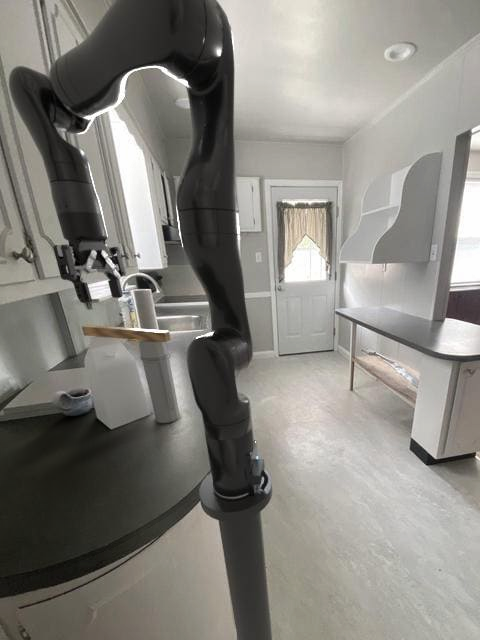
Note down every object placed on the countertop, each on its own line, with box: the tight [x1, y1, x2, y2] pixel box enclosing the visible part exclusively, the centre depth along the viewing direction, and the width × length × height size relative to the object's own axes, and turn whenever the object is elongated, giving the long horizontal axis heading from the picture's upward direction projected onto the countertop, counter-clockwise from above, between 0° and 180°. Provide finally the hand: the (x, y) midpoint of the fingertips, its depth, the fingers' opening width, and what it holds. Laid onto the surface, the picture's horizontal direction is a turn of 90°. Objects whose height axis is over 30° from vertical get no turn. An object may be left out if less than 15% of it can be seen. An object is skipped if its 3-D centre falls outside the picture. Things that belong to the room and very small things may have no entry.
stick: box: [81, 324, 171, 343], centre depth 84 cm, size 26×2×3 cm, turn 78°
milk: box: [83, 336, 152, 430], centre depth 92 cm, size 12×12×26 cm
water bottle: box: [138, 340, 181, 424], centre depth 88 cm, size 9×8×25 cm
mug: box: [51, 387, 94, 417], centre depth 96 cm, size 10×12×10 cm
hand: (103, 299), depth 64 cm, fingers open, 8 cm apart
